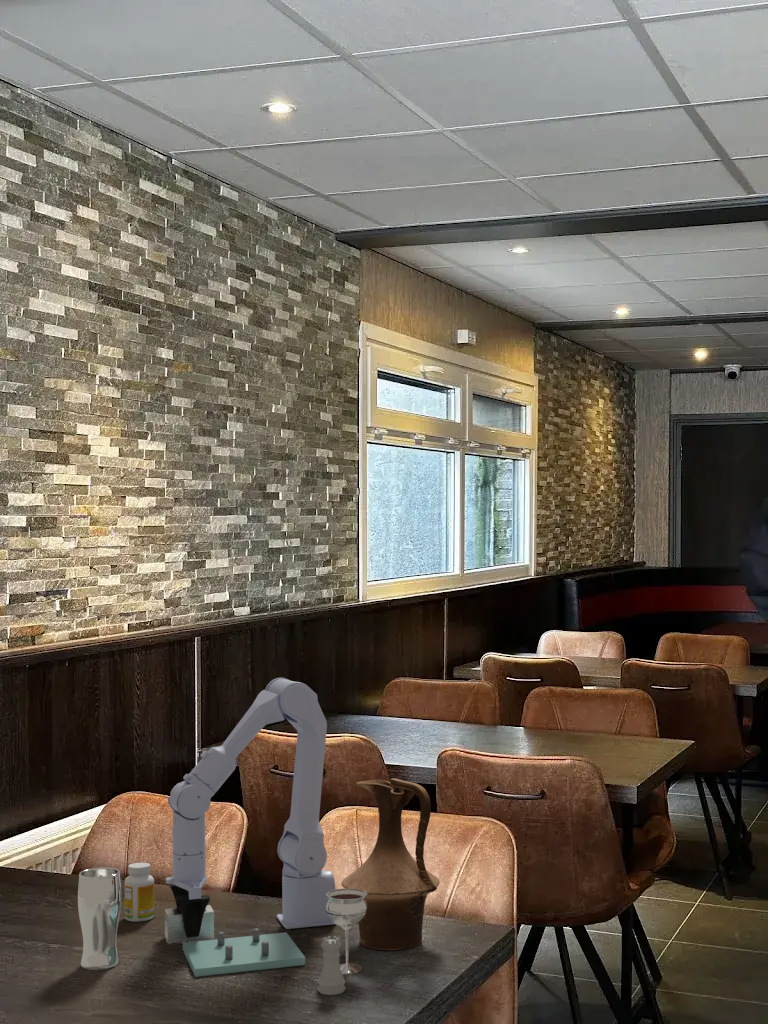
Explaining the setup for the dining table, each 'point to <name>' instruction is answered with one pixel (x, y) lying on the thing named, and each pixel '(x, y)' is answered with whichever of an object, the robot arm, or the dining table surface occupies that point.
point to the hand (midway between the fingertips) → (189, 930)
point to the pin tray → (242, 953)
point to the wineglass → (347, 916)
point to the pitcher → (394, 871)
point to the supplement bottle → (139, 893)
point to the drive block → (176, 926)
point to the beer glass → (99, 916)
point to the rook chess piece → (331, 968)
